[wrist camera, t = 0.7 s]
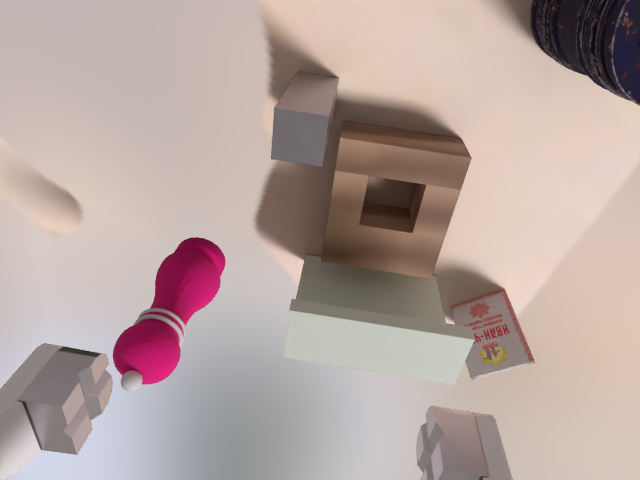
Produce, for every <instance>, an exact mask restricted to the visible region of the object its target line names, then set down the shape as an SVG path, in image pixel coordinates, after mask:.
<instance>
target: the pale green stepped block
mask: <svg viewBox="0 0 640 480" xmlns="http://www.w3.org/2000/svg"><path fill="white" fill-rule="evenodd" d="M321 258H322V257H318V256H312V255H305V260H304V264H303V269H302V274H301V278H300V283H299V287H298V292H297V296H296V299H292V300H291V305H290V310H289V317H288V326H287V335H286V343H285V353H284V358H289V359H295V360H301V361H307V362H314V363H320V364H326V365H332V366H339V367H345V368H351V369H357V370H363V371H369V372H376V373H382V374H389V375H394V376H401V377H407V378H413V379H420V380H425V381H431V382H437V383H444V384H450V385H454V384H455V382H456V380H457V378H458V375H459V373H460V371H461V369H462V366H463V364H464V362H465V360H466V358H467V356H468V353H469V351H470V349H471V347H472V345H473V342H474V340H475V339H474V336H473V332H472V328H471V327H466V326H459V325H453V324H447V323H446V322H445V317H444V312H443V307H442V302H441V298H440V293H439V288H438V283H437V278H436V275H432V277H431V279H430V278H424V277H417V276H411V275H405V274H398V273H392V272H386V271H379V270H373V269H367V268H360V267H354V266H348V265H341V264H335V263H329V262H322V261H321Z"/></svg>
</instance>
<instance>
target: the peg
mask: <svg viewBox="0 0 640 480" xmlns="http://www.w3.org/2000/svg"><path fill="white" fill-rule="evenodd" d="M338 82H339V78H336V77H330V76H323V75H316V74H310V73H303V72H297V73H296V75H295V76H294V78H293V80H292V81H291V83H290V84H289V86H288V87H287V89H286V90H285V92H284V93H283V95H282V97H281V98H280V100H279V101H278V103H277V104H276V106H275V107H274V121H273V137H272V152H271V159H274V160H281V161H287V162H294V163H300V164H307V165H313V166H319V167H322V165H323V161H324V157H325V152H326V148H327V144H328V139H329V135H330V131H331V126H332V122H333V117H334V110H335V103H336V96H337V89H338Z"/></svg>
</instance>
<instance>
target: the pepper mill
mask: <svg viewBox="0 0 640 480" xmlns="http://www.w3.org/2000/svg"><path fill="white" fill-rule="evenodd" d="M224 267H225V257H224V254H223V253H222V251H221V250H220V248H219V247H218V246H217V245H215V244H214V243H213V242H211V241H209V240H206V239H204V238H198V237H197V238H189V239H186V240H184V241H183V242H181V243H180V245H179V246H178V247H177V249H176V250H175V252H174V253H173V254H171V255H169V256H168V257H167V258H166V259H165V260H164V261H163V262H162V264H161V266H160V268H159V269H158V272H157V276H156V281H155V287H156V288H155V298H154V301H153V304H152V306H151V308H150V309H147V310H145V311H143V312H142V313H141V314H140V315H139V318H138V320H136V322H135V323H134V326H131V327H129V328H128V329H126V330H125V331H124V332H123V333H122V334H121V335H120V337H119V338H118V340H117V342H116V344H115V347H114V351H113V360H114V364H115V367H116V368H117V370H118V371H119V372H120V373H121V374H122V375H123V376H122V379H121V385H122V387H123V389H125V390H127V391H134V390H136V389H138V388H139V387H140V386H141V384H153V383H157V382H160V381H162V380H164V379H165V378H166V377H168V376H169V375H170V374H171V373H172V372H173V371H174V369H175V368H176V366H177V364H178V361H179V359H180V346H181V344H182V342H183V339H184V338H185V336H186V327H185V326H186V323H187V322H188V320H189V319H190V317H191V316H192V315H193V314H194V313H195V312H197V311H198V310H200V309H202V308H203V307H205V306H206V305H207V304H208V303H209V302H211V301H212V300H213V298H214V297H215V295H216V294H217V292H218V290H219V287H220V276H221V274H222V272H223V270H224Z"/></svg>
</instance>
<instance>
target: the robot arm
mask: <svg viewBox="0 0 640 480" xmlns="http://www.w3.org/2000/svg"><path fill="white" fill-rule="evenodd" d="M108 364H109V363H108V358H107V355H106V354H101V353H95V352H90V351H85V350H80V349H75V348H69V347H64V346H58V345H52V344H46V343H44V344H42V345H40V346H39V347H37V348H36V349H35V350H34V351H33V352H32V354H31V355H30V356H29V357H28V358H27V359H26V361H25V362H24V363H23V364H22V365H21V366H20V367H19V368H18V370H17V371H16V372H15V373H14V374H13V375H12V377H10V379H9V380H8V381H7V382H6V384H4V385H3V387H2V388H1V389H0V480H5V479H7V478H8V477H9V476H11V475H12V474H13V473H15V472H16V471H17V470H19V469H20V468H21V467H23V466H24V465H25V464H26V463H28V462H29V461H30V460H32V459H33V458H34V457H36V456H37V455H38V454H40V453H41V450H47V451H54V452H61V453H68V454H76V455H77V454H78V452H79V451H80V449H81V447H82V446H83V444H84V442H85V441H86V439H87V437H88V435H89V434H90V432H91V431H92V425H91V420H92V419H94V418H95V417H97V416H98V415H100V414H101V413H102V412H103V410H104V409H105V407H106V405H107V403H108V401H109V398H110V395H111V392H112V383H113V382H112V376H111V375H110V374H109V373H108V372H107V371H106V370H105V369H106V367H107V365H108ZM426 420H427V423H425V424H423V425H422V426H421V428H420V431H419V433H418V439H417V465H418V466H419V467H420V469H421V470H422V472H423V476H422V478H421V480H513V478H512V475H511V472H510V468H509V465H508V461H507V458H506V454H505V451H504V447H503V444H502V440H501V437H500V433H499V430H498V426H497V423H496V420H495V418H494V417H493V416H492V415H487V414H480V413H474V412H470V411H464V410H457V409H450V408H443V407H437V406H431V407H429V408H428V411H427V413H426Z"/></svg>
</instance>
